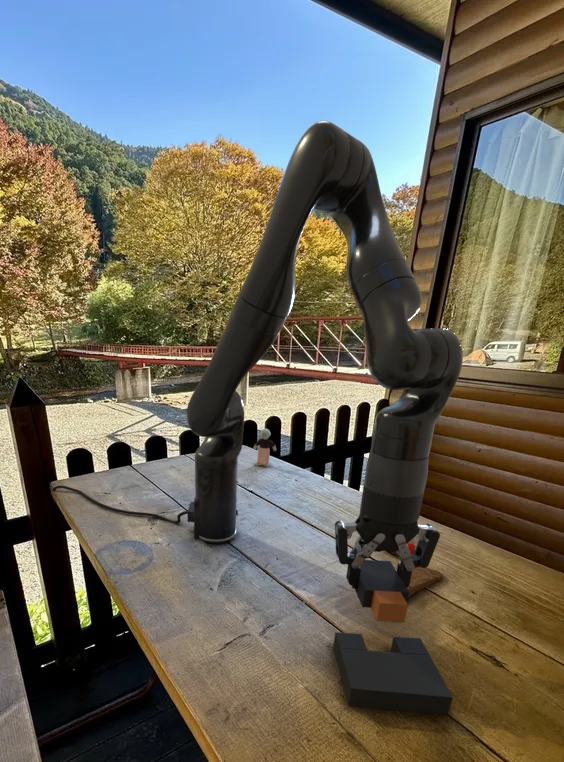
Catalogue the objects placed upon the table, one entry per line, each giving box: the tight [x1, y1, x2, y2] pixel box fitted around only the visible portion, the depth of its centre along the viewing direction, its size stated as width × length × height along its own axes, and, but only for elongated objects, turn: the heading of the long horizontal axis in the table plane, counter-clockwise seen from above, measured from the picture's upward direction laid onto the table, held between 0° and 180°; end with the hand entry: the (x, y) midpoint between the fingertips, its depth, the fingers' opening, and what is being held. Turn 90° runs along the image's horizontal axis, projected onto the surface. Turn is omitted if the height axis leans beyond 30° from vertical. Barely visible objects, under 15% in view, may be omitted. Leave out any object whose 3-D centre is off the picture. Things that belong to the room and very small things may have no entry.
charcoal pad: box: [354, 559, 410, 624], centre depth 60 cm, size 6×11×3 cm, turn 173°
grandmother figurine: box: [252, 428, 277, 468], centre depth 136 cm, size 8×4×13 cm, turn 81°
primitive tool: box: [407, 567, 444, 598], centre depth 73 cm, size 19×6×4 cm, turn 133°
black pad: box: [332, 631, 454, 716], centre depth 56 cm, size 12×10×3 cm
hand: (376, 586), depth 62 cm, fingers closed on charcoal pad, 6 cm apart
